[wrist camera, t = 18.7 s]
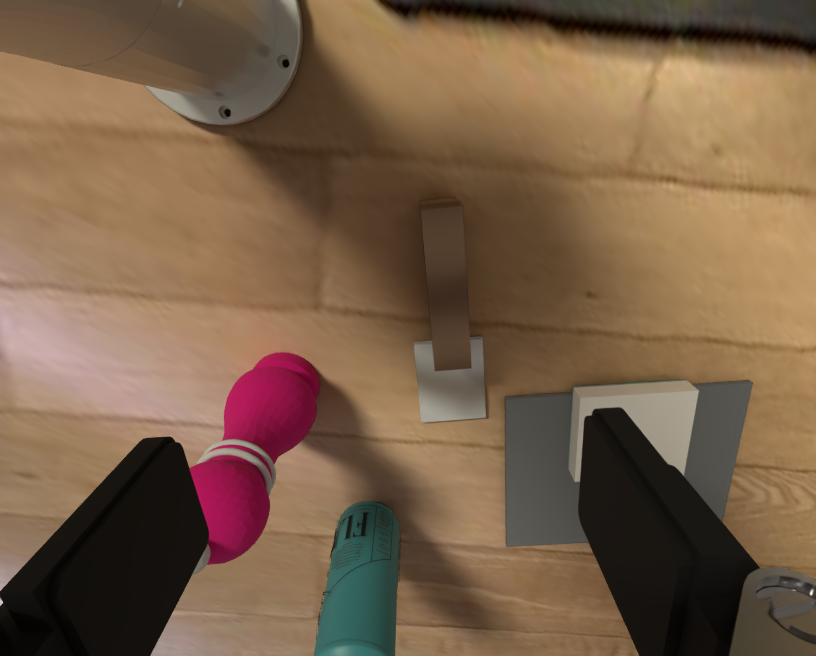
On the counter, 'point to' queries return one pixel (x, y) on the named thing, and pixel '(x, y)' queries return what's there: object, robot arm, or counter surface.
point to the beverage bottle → (361, 585)
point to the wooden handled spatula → (448, 322)
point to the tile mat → (558, 493)
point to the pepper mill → (252, 452)
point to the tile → (639, 416)
